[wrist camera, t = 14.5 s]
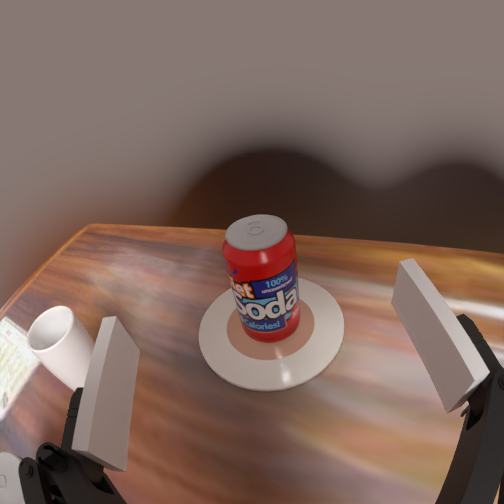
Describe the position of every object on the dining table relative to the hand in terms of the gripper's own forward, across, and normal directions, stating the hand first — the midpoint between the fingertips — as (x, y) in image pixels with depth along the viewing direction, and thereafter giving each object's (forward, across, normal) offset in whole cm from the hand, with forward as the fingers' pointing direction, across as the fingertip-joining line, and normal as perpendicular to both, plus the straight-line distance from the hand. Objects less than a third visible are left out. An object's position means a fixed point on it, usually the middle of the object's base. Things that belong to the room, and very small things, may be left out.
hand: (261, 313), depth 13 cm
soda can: (+18, 0, -22) cm, 28 cm away
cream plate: (+18, 0, -23) cm, 29 cm away
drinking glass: (+9, -22, -22) cm, 33 cm away
